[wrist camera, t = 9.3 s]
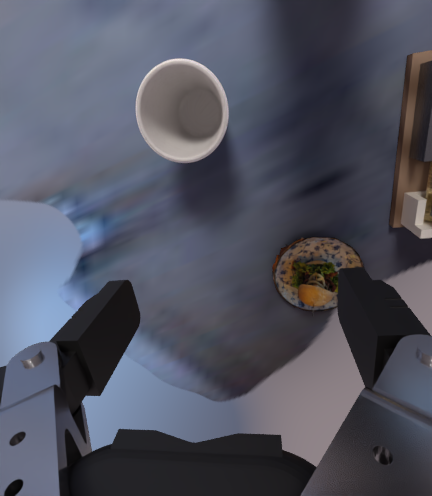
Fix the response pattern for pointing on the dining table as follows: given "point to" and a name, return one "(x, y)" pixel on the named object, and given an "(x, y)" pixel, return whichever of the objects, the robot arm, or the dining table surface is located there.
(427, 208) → the dark grey block
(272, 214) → the dining table surface
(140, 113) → the dixie cup
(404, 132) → the base board
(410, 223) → the far socket
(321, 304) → the burger
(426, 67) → the outer sleeve
